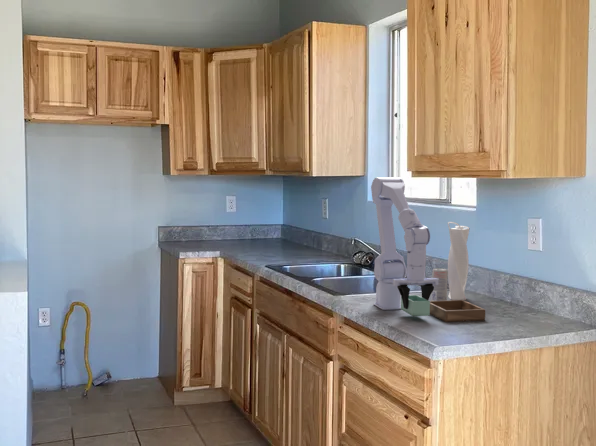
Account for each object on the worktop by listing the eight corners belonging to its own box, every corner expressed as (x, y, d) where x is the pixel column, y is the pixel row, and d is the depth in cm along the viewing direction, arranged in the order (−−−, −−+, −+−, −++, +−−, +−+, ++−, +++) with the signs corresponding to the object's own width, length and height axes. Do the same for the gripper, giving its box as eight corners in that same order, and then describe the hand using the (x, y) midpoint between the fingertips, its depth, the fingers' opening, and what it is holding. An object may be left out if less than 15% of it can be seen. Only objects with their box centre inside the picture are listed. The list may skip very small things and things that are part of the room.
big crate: (425, 311, 227) (425, 301, 227) (462, 310, 230) (462, 299, 230) (445, 322, 212) (445, 311, 212) (484, 320, 215) (485, 309, 215)
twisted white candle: (447, 300, 247) (450, 222, 244) (443, 296, 254) (445, 220, 252) (469, 300, 247) (472, 222, 244) (464, 296, 254) (467, 221, 252)
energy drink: (444, 301, 244) (445, 268, 243) (448, 304, 239) (449, 270, 238) (429, 301, 244) (430, 268, 243) (433, 304, 238) (434, 270, 237)
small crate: (400, 309, 221) (401, 295, 220) (416, 308, 222) (417, 294, 222) (412, 316, 211) (413, 301, 211) (429, 315, 212) (429, 301, 212)
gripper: (399, 267, 210) (397, 311, 211) (443, 266, 213) (441, 309, 214) (390, 264, 217) (389, 306, 218) (433, 263, 220) (432, 305, 221)
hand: (414, 307), depth 217 cm, fingers closed on small crate, 5 cm apart
